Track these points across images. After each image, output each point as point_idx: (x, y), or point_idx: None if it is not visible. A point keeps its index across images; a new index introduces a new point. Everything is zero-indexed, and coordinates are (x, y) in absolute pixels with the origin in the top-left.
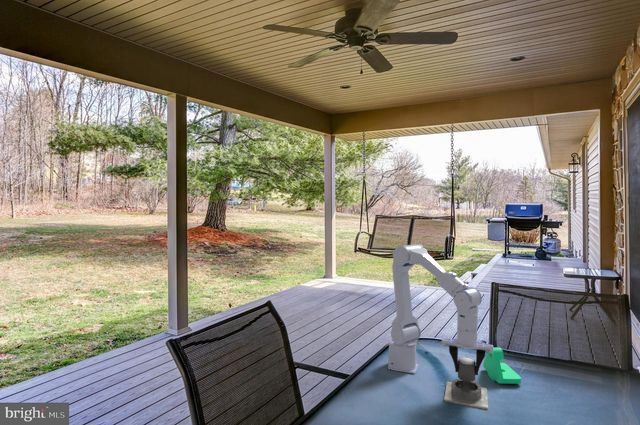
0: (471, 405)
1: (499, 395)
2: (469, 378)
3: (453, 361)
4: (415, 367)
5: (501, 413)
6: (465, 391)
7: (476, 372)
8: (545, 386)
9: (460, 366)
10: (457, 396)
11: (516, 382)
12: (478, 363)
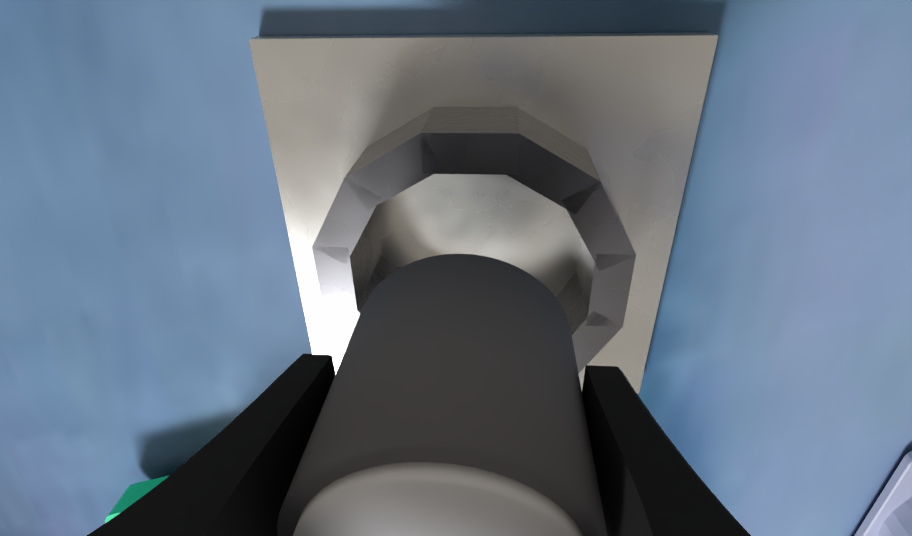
0: (415, 37)
1: (225, 323)
2: (415, 284)
3: (727, 513)
4: (894, 521)
5: (131, 10)
6: (475, 145)
7: (298, 377)
8: (20, 497)
9: (560, 426)
10: (561, 137)
11: (143, 486)
12: (169, 511)
